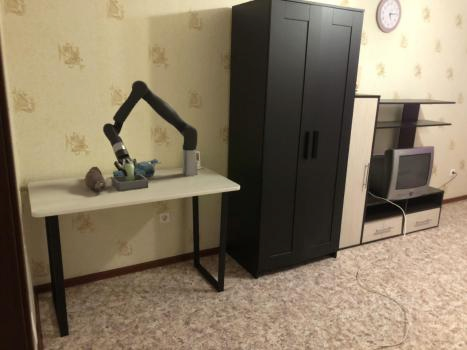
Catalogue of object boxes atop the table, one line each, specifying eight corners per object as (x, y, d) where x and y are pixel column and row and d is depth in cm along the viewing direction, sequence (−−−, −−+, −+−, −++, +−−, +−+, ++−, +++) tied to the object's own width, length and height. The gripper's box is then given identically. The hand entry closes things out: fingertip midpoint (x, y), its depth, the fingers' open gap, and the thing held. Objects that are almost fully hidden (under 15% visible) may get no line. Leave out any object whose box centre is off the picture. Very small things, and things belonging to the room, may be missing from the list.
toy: (109, 165, 245) (151, 155, 261) (112, 178, 248) (153, 167, 264) (120, 173, 227) (165, 161, 243) (123, 187, 230) (167, 174, 246)
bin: (140, 181, 233) (139, 174, 232) (148, 187, 221) (147, 179, 220) (112, 185, 224) (111, 177, 223) (118, 191, 212) (118, 183, 211)
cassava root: (88, 199, 202) (107, 197, 207) (87, 180, 199) (107, 179, 203) (81, 175, 236) (97, 174, 241) (80, 158, 233) (97, 158, 237)
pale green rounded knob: (132, 180, 226) (132, 163, 223) (135, 182, 221) (134, 164, 219) (124, 181, 223) (123, 163, 220) (126, 184, 219) (125, 165, 216)
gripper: (111, 149, 218) (121, 173, 212) (133, 146, 227) (144, 169, 222) (107, 156, 223) (117, 180, 217) (129, 154, 232) (139, 176, 227)
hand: (130, 174), depth 220 cm, fingers closed on pale green rounded knob, 5 cm apart
